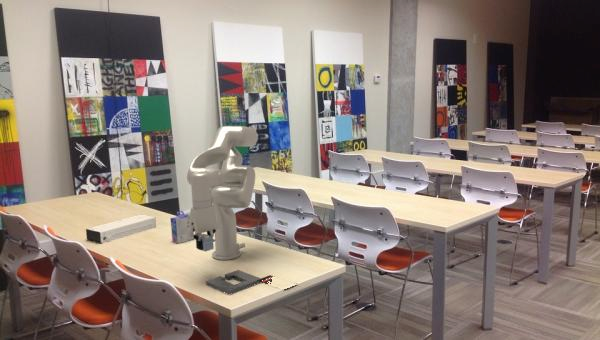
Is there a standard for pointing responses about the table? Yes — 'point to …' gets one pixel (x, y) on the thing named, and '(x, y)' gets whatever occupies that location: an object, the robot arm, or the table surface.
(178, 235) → the ink cartridge box
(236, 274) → the frame
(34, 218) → the table surface
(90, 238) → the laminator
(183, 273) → the table surface
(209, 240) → the servo
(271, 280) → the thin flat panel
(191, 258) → the table surface
